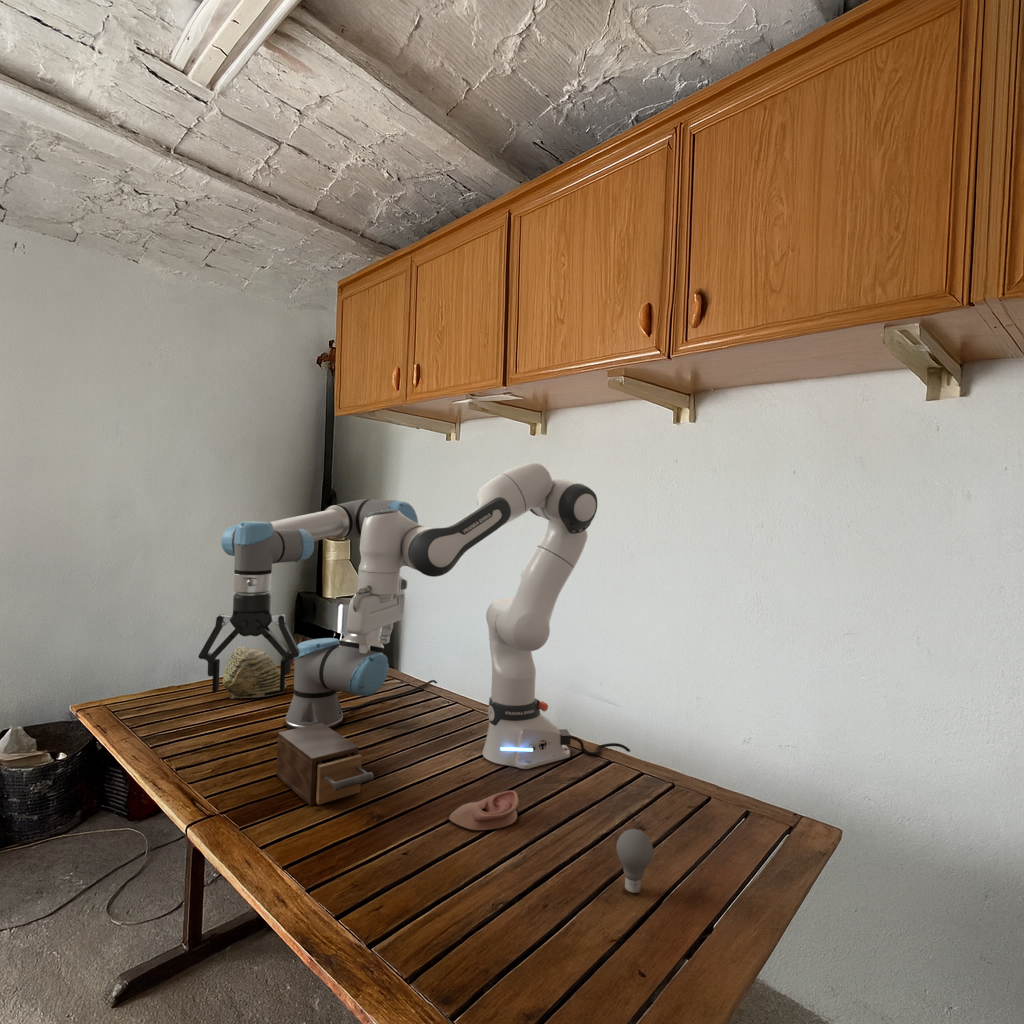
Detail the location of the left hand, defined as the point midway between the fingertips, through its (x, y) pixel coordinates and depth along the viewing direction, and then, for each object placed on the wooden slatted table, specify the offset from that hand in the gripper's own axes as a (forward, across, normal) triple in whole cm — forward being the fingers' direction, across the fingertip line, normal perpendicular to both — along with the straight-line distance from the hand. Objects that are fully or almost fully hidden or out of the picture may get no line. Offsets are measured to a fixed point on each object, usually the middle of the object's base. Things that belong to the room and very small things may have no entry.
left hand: (249, 690), depth 138 cm
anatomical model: (+21, +49, -22) cm, 57 cm away
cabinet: (+21, +15, -2) cm, 25 cm away
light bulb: (+21, +69, -50) cm, 87 cm away
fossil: (+21, -8, +63) cm, 67 cm away
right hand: (-10, +26, -7) cm, 29 cm away
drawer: (+20, +18, -7) cm, 27 cm away
